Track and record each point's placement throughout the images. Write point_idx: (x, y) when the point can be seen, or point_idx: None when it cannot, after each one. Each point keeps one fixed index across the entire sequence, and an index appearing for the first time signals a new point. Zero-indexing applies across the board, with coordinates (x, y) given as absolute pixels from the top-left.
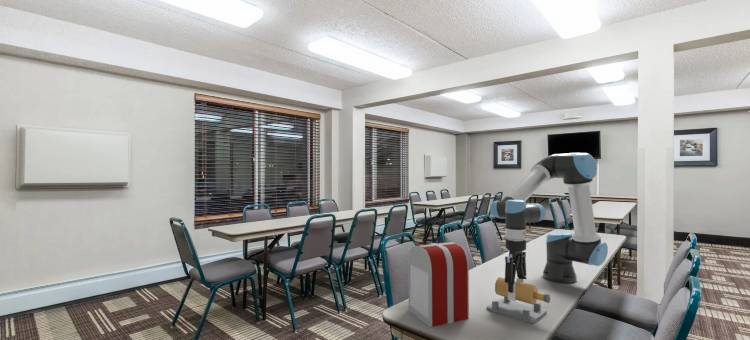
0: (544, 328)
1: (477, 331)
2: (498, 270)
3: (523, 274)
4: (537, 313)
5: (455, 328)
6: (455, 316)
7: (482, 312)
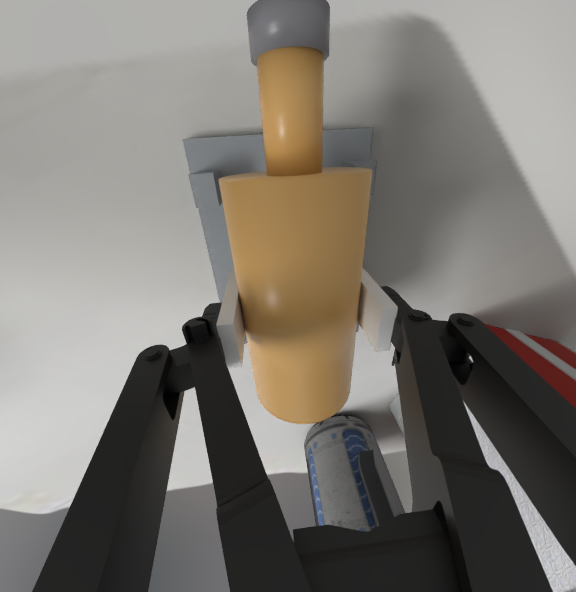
0: (380, 54)
1: (543, 251)
2: None
3: (205, 359)
4: (260, 159)
5: (546, 302)
6: (512, 337)
7: None
